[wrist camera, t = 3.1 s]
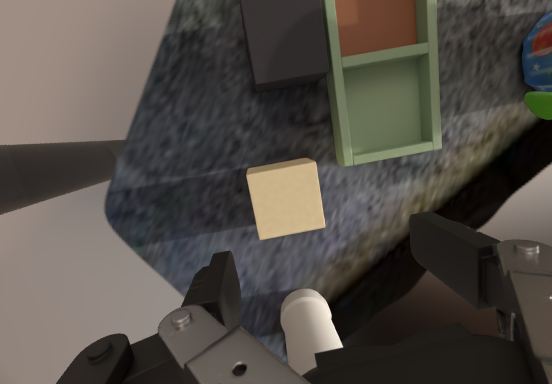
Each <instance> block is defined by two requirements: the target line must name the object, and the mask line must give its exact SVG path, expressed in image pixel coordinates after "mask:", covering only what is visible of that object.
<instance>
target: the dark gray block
mask: <svg viewBox="0 0 552 384" xmlns="http://www.w3.org/2000/svg"><path fill="white" fill-rule="evenodd" d="M240 7H241V15H242V23H243V29H244V34H245V39H246V45H247V50H248V56H249V61H250V66H251V72H252V77H253V82H254V88H255V92H256V93H258V92H264V91H269V90H275V89H280V88H286V87H292V86H297V85H303V84H308V83H314V82H318V81H319V80H320V79H321V78H322V77H323V76H325V75H326V74H327V73H328V72H329V63H328V55H327V47H326V39H325V31H324V23H323V15H322V7H321V0H240Z"/></svg>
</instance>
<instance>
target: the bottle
mask: <svg viewBox="0 0 552 384" xmlns="http://www.w3.org/2000/svg"><path fill="white" fill-rule="evenodd" d="M280 319H281V325H282V328H283V330H284V332H285V338H286V347H287V355H288V364H289V366H290V367H291V368H292V369H294V370H295V371H296V372H297V373H298V374H300V375H301V376H302V375H303V374H305V373H306V372H308V371H309V370H311V369H313V368H315V367H317V366H316V360H315V355H314V353H318V352H323V351H328V350H333V349H337V348H342V347H343V346H342V344H341V342H340V339H339V337H338V335H337V332H336V330H335V328H334V325H333V323H332V321H331V312H330V309H329V307H328V304H327V302H326V301H325V299H324V298H323V297H322V296H321V295H320V294H319V293H318V292H316V291H314V290H311V289H298V290H296V291H293V292H291V293H290V294H289V295H288V296H287V297H286V298H285V300H284V302H283V303H282V306H281V318H280Z"/></svg>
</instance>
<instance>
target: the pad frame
mask: <svg viewBox="0 0 552 384" xmlns="http://www.w3.org/2000/svg"><path fill="white" fill-rule="evenodd" d="M321 7H322V15H323V23H324V31H325V39H326V47H327V55H328V63H329V72H328V73H327V74H326V79H327V87H328V95H329V103H330V111H331V119H332V127H333V134H334V142H335V150H336V158H337V164H338V165H341V166H344V167H348V166H352V165H358V164H364V163H369V162H374V161H379V160H385V159H390V158H395V157H400V156H406V155H411V154H416V153H421V152H426V151H432V150H437V149H441V148H442V146H441V118H440V91H439V63H438V35H437V8H436V0H321Z"/></svg>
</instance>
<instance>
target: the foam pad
mask: <svg viewBox="0 0 552 384" xmlns="http://www.w3.org/2000/svg"><path fill="white" fill-rule="evenodd" d="M246 177H247V182H248V186H249V191H250V196H251V201H252V206H253V210H254V215H255V220H256V225H257V230H258V234H259V239H260V240H264V239H269V238H274V237H279V236H284V235H289V234H294V233H299V232H304V231H309V230H314V229H319V228H324V227H325V222H324V215H323V208H322V201H321V195H320V188H319V181H318V174H317V167H316V162H315V161H312V160H310V159H308V158H301V159H296V160H291V161H285V162H280V163H275V164H269V165H264V166H259V167H254V168H248V170H247V175H246Z"/></svg>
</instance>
